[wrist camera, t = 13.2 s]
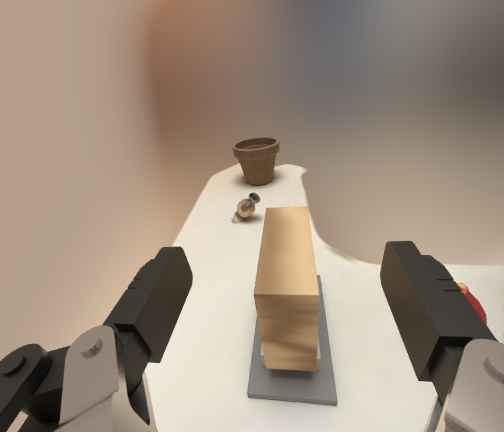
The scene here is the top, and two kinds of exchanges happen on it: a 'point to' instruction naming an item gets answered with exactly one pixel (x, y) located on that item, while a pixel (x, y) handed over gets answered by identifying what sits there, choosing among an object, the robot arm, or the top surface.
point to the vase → (246, 208)
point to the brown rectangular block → (287, 291)
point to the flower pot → (257, 158)
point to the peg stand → (295, 371)
